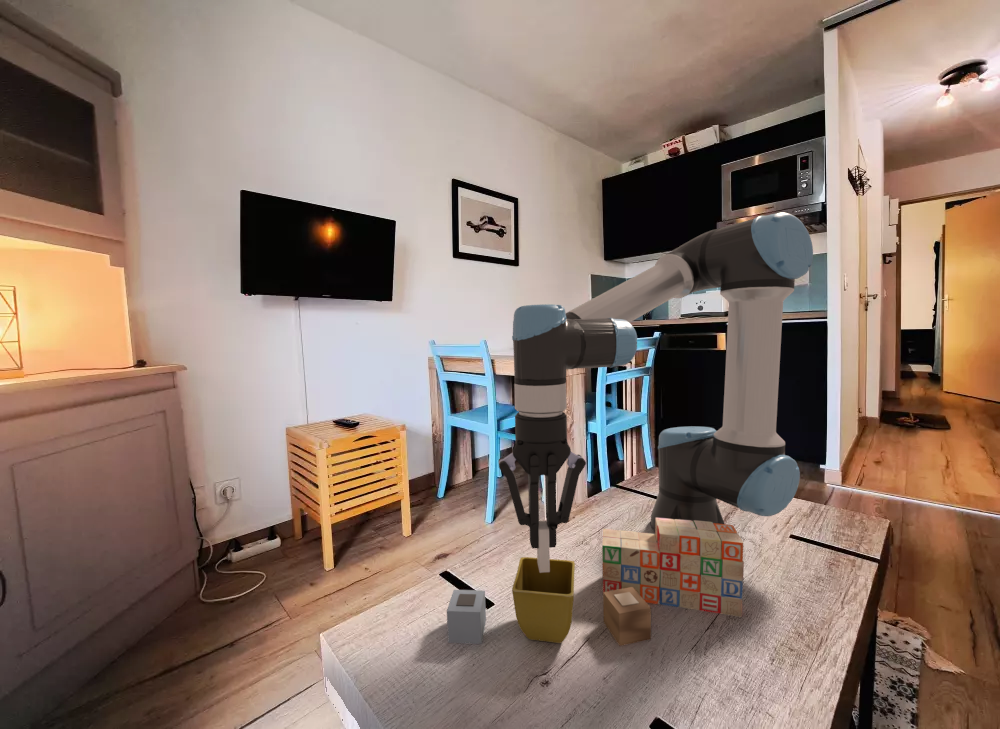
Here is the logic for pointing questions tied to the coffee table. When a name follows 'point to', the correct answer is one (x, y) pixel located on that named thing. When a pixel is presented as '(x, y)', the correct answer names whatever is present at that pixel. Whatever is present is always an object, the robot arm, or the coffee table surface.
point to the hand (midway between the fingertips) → (543, 567)
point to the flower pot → (544, 599)
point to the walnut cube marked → (627, 616)
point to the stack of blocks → (678, 565)
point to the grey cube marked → (466, 616)
